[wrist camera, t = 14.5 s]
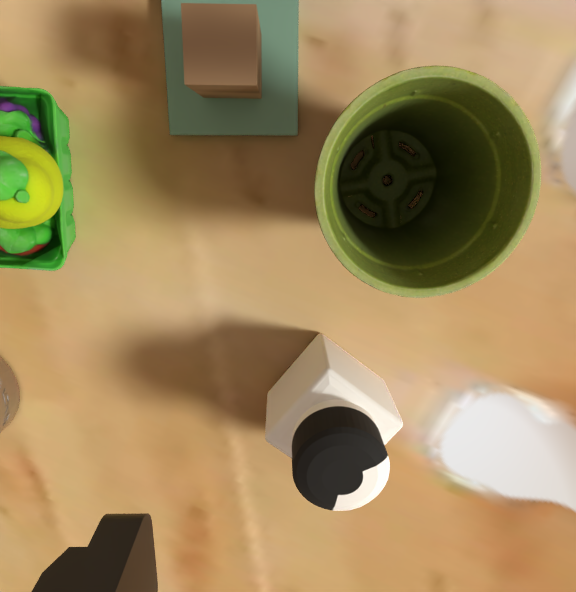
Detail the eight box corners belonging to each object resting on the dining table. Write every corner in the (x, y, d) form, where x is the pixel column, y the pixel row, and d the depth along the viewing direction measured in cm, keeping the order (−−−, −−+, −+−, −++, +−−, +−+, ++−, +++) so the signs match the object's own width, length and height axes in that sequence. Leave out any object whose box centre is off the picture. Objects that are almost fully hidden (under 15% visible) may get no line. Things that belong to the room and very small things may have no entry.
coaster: (172, 135, 35) (169, 134, 34) (163, -7, 33) (160, -11, 32) (297, 135, 35) (297, 135, 35) (298, -6, 33) (298, -10, 32)
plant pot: (478, 100, 35) (567, 77, 24) (448, 262, 38) (514, 306, 27) (313, 84, 34) (328, 53, 24) (297, 249, 38) (303, 288, 27)
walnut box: (200, 33, 33) (179, 3, 26) (261, 34, 33) (256, 4, 26) (202, 97, 34) (183, 84, 27) (261, 98, 34) (256, 85, 27)
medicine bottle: (265, 392, 41) (259, 486, 30) (319, 330, 40) (335, 403, 28) (330, 438, 43) (349, 545, 31) (385, 379, 41) (426, 468, 29)
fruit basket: (-25, 90, 34) (-167, 62, 24) (102, 98, 35) (21, 75, 24) (-7, 250, 38) (-124, 291, 27) (109, 257, 38) (40, 299, 27)
